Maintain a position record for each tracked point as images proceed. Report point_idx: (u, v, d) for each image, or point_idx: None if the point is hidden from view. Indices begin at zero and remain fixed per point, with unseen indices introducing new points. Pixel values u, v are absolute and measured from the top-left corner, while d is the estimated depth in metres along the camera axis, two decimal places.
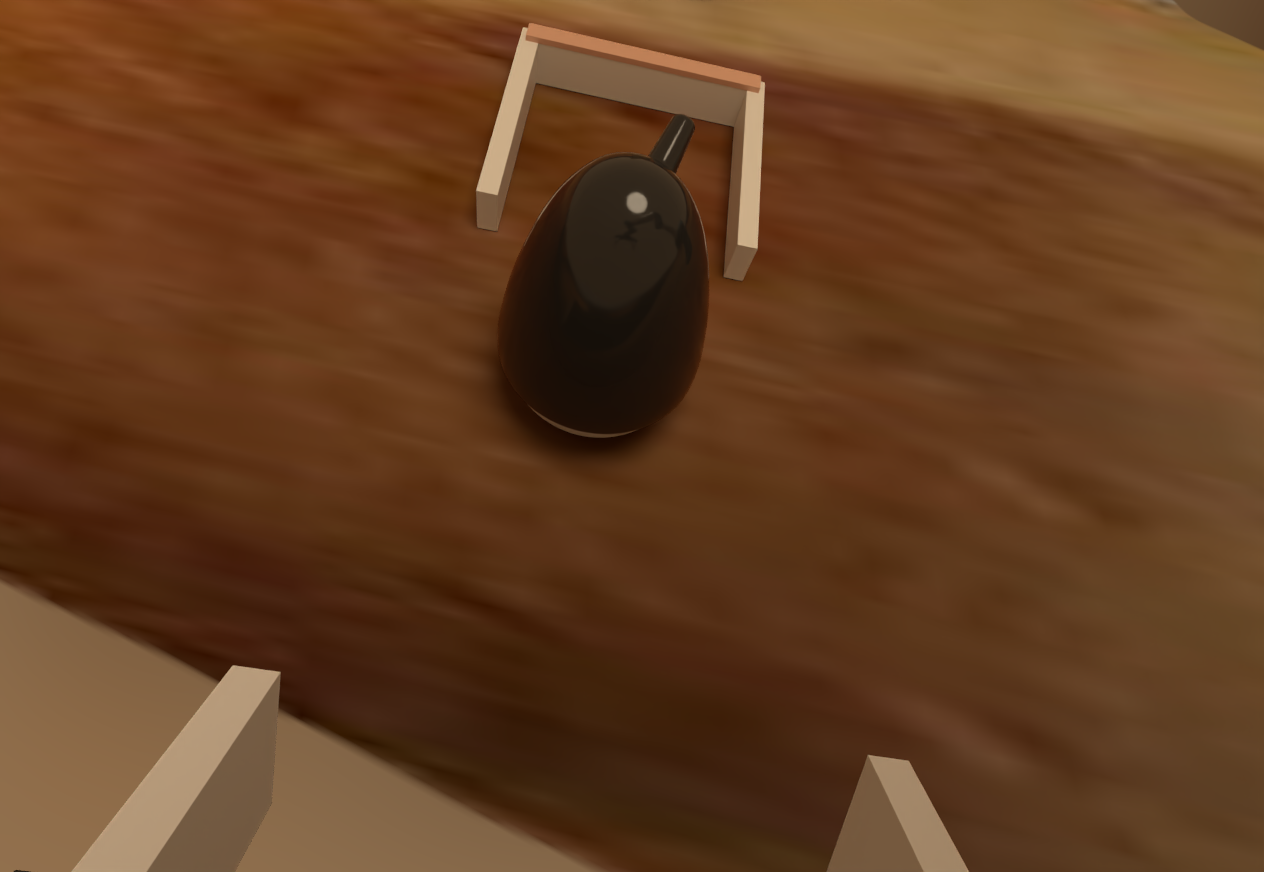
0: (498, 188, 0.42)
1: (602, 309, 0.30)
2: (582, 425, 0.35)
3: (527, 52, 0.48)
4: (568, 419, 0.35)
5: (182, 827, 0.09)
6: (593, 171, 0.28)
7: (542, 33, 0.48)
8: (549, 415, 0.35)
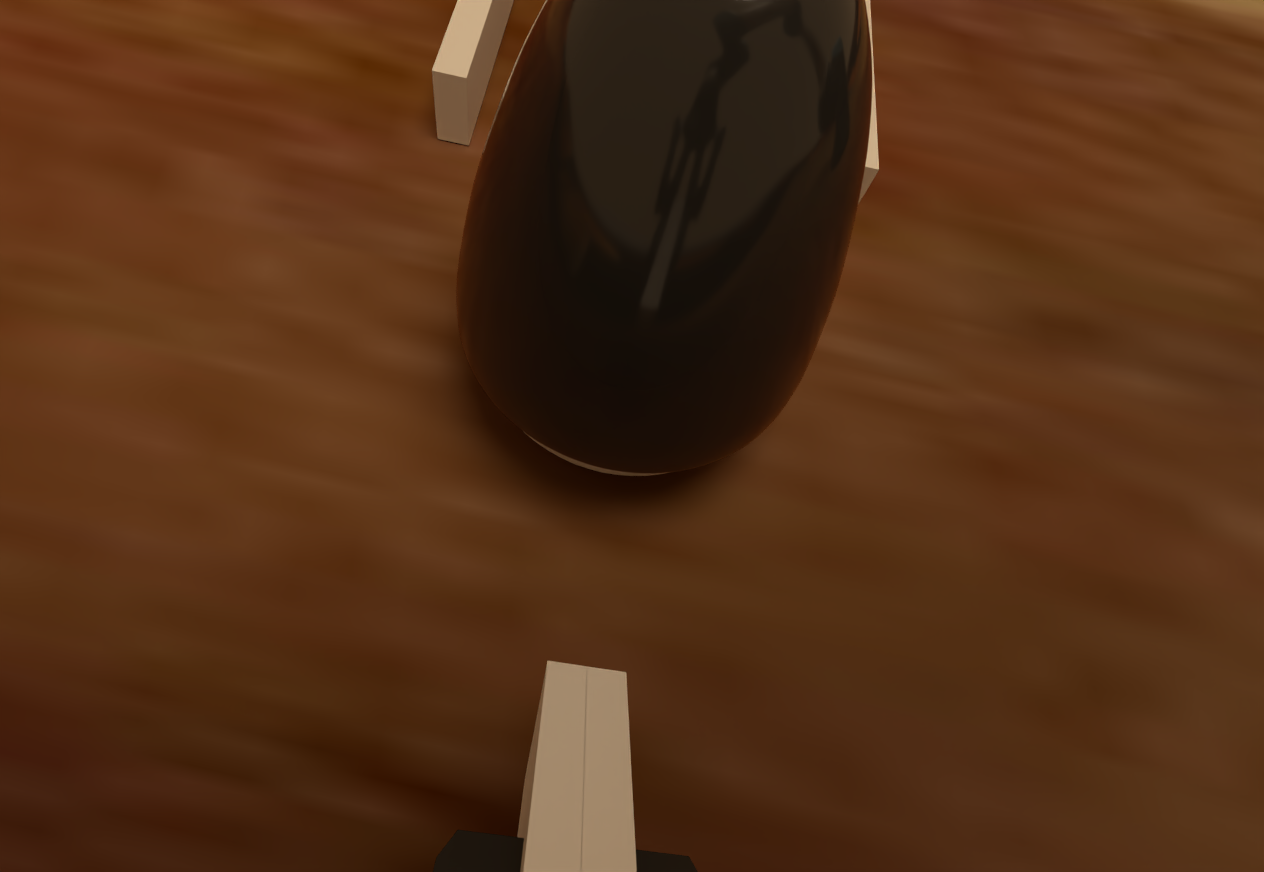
0: (468, 68, 0.26)
1: (663, 219, 0.14)
2: (608, 458, 0.19)
3: None
4: (583, 449, 0.19)
5: None
6: None
7: None
8: (548, 440, 0.19)
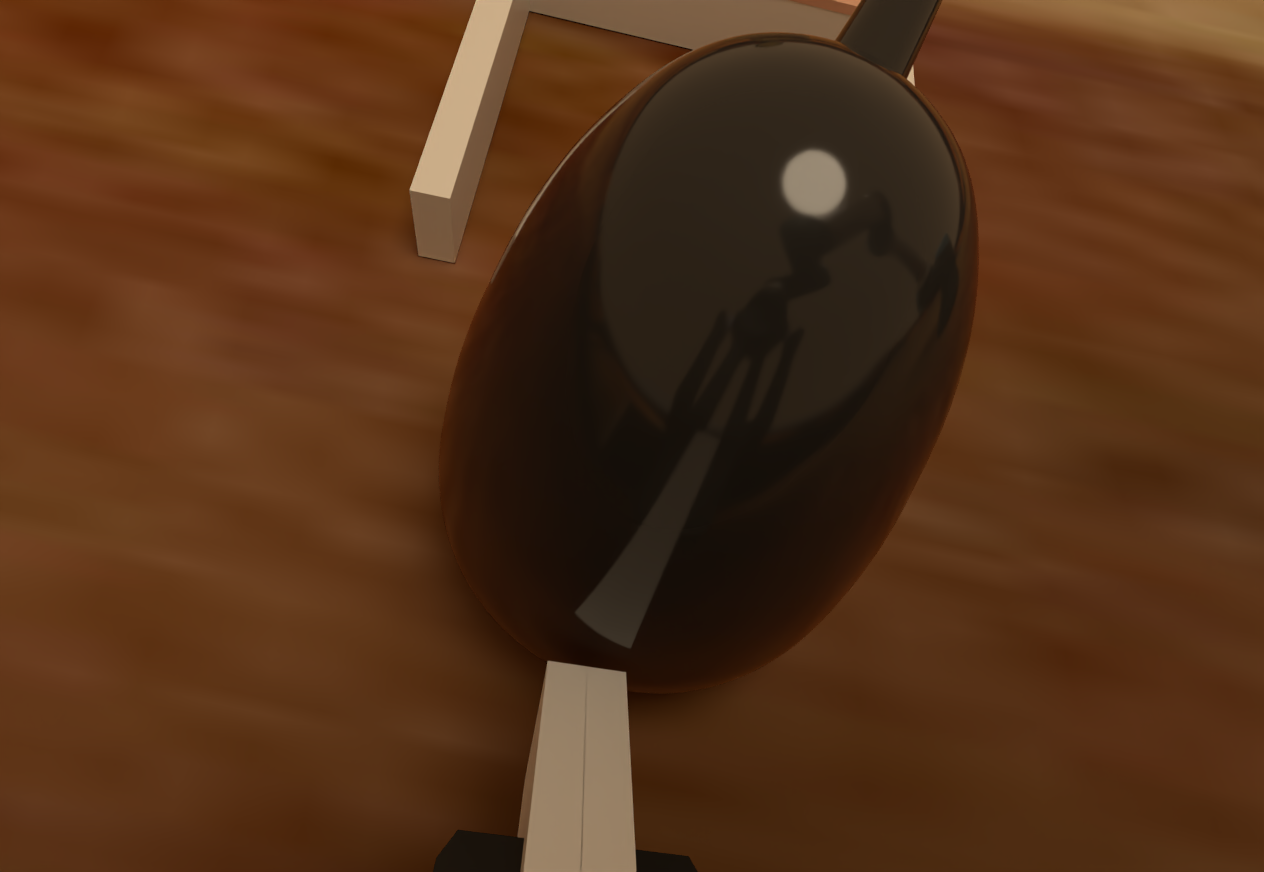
0: (452, 186, 0.23)
1: (694, 494, 0.10)
2: None
3: None
4: None
5: None
6: (688, 78, 0.09)
7: None
8: (542, 656, 0.16)
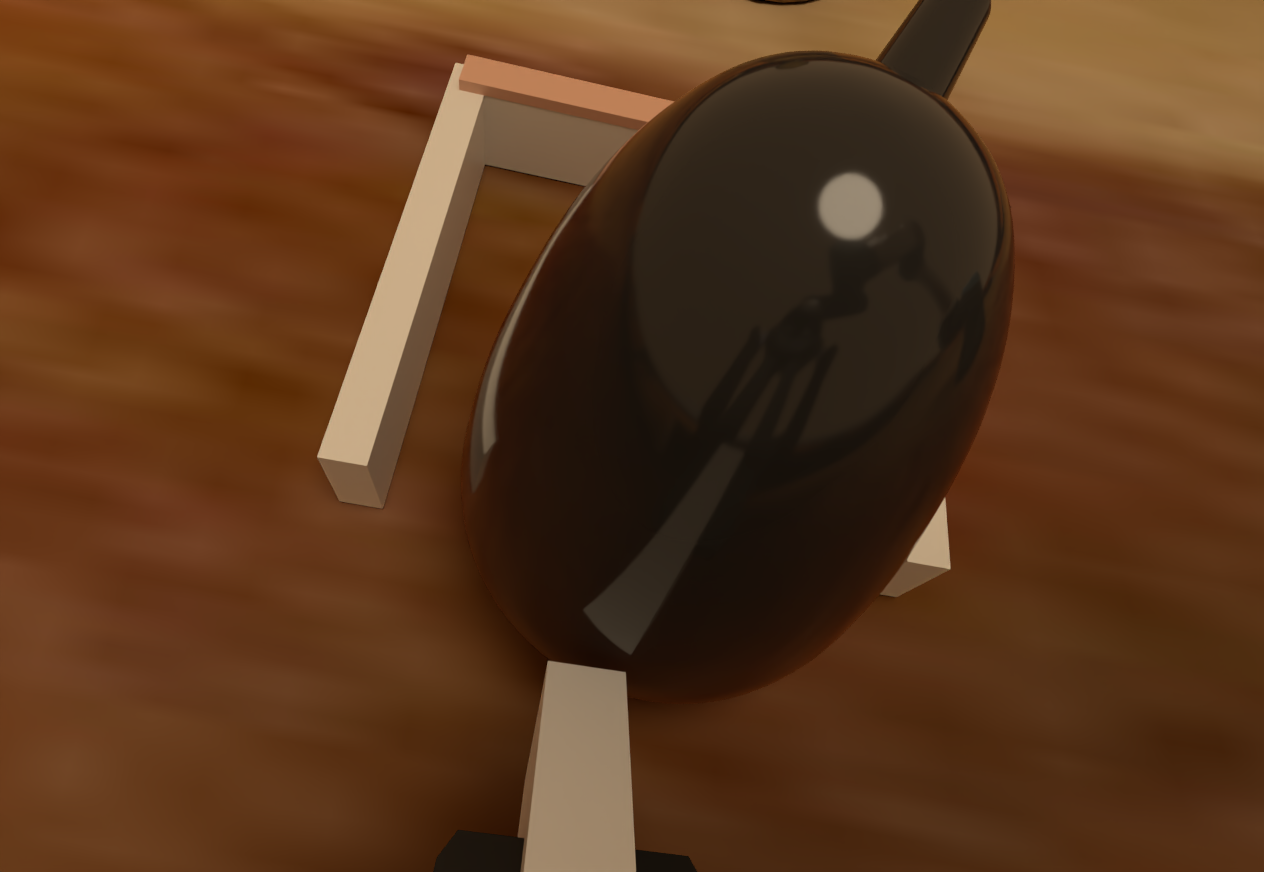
0: (371, 447, 0.19)
1: (717, 507, 0.10)
2: (627, 692, 0.16)
3: (460, 115, 0.24)
4: None
5: None
6: (731, 95, 0.09)
7: (492, 76, 0.24)
8: (556, 661, 0.16)
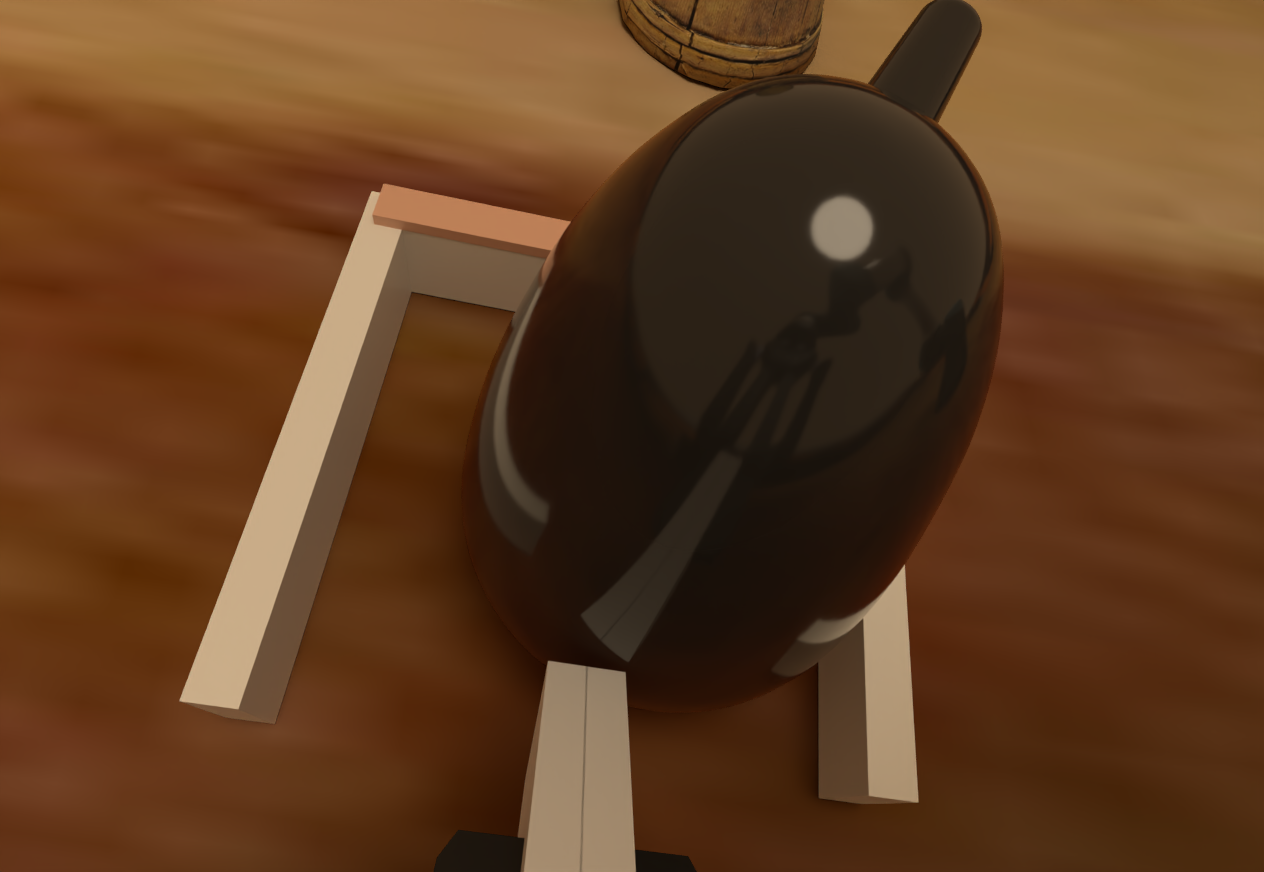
0: (245, 683, 0.16)
1: (713, 518, 0.10)
2: None
3: (374, 255, 0.21)
4: None
5: None
6: (726, 117, 0.09)
7: (410, 209, 0.22)
8: None
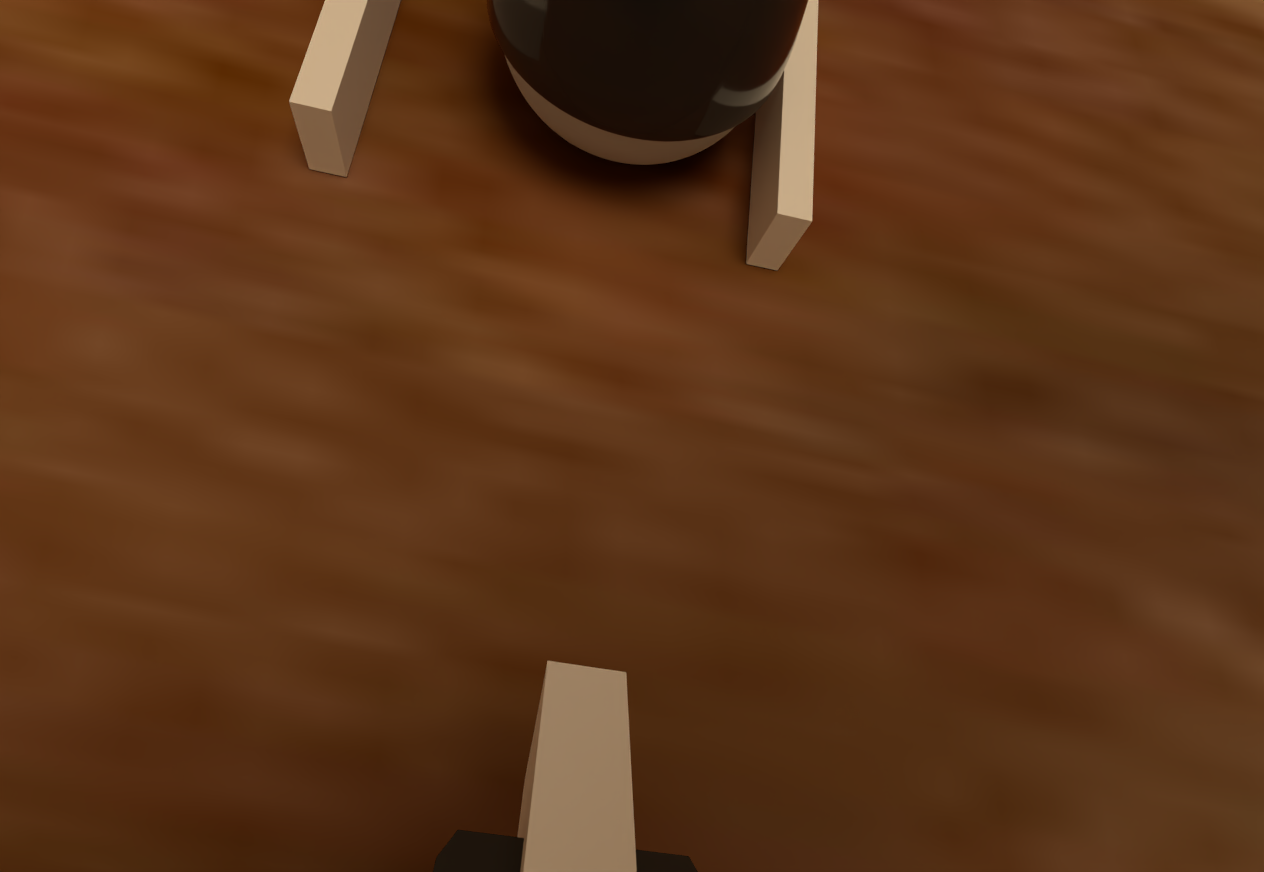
0: (334, 97, 0.22)
1: None
2: (607, 114, 0.23)
3: None
4: (586, 102, 0.22)
5: None
6: None
7: None
8: (557, 95, 0.23)
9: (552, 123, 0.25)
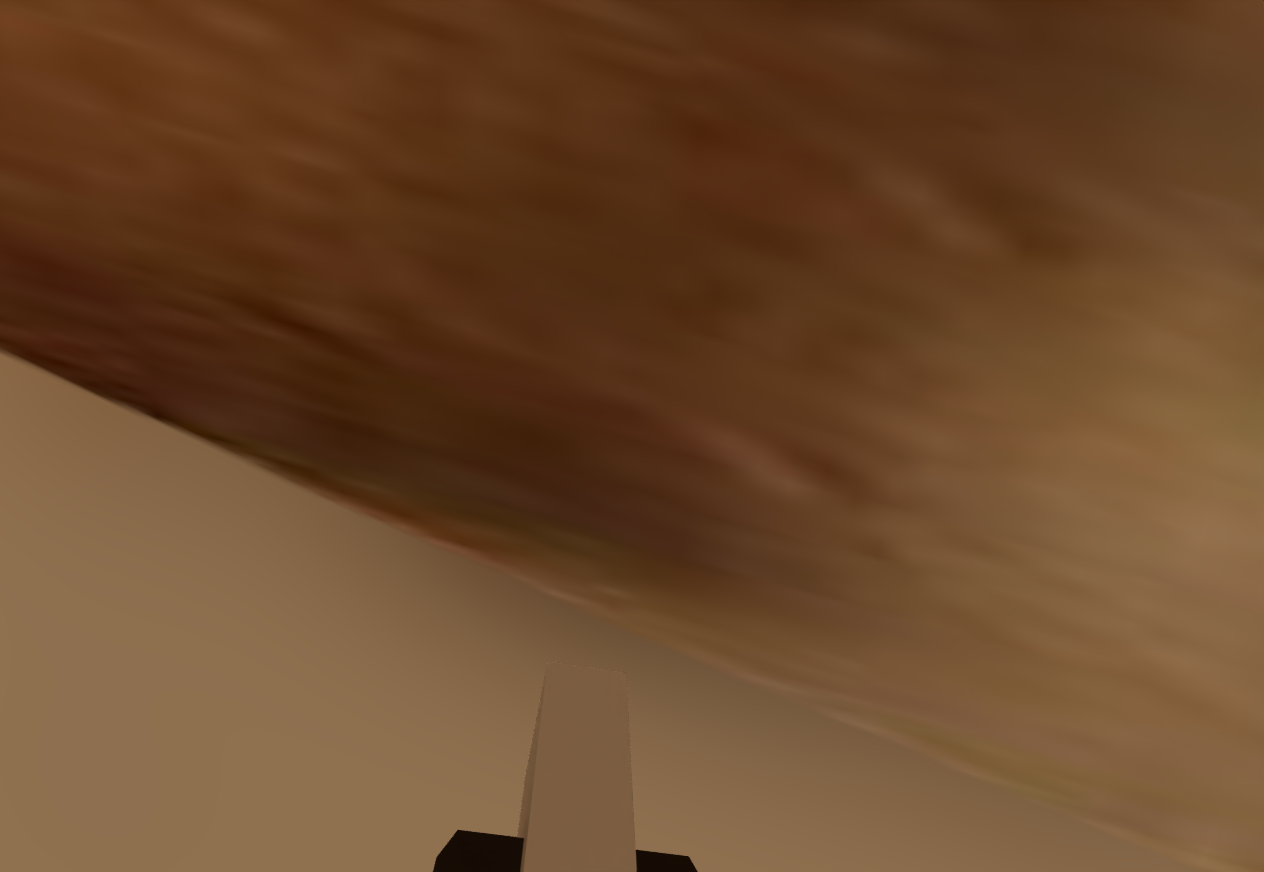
0: None
1: None
2: None
3: None
4: None
5: None
6: None
7: None
8: None
9: None
